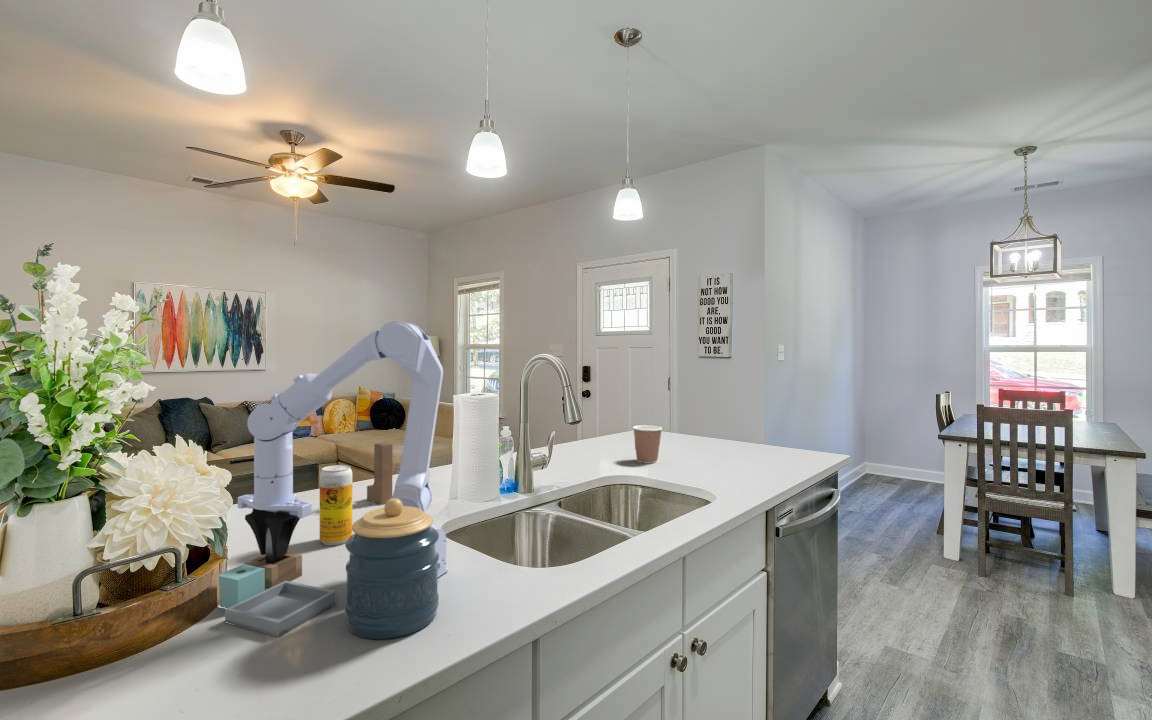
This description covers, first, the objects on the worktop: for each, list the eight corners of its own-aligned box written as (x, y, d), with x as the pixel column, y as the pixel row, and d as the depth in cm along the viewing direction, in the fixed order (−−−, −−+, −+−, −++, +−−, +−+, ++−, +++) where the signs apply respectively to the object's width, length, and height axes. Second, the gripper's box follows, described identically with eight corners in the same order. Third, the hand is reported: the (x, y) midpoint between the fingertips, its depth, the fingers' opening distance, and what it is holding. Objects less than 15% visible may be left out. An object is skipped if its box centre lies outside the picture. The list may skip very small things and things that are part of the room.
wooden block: (392, 502, 137) (393, 443, 137) (381, 504, 134) (381, 445, 134) (378, 497, 141) (378, 440, 141) (366, 500, 138) (366, 442, 138)
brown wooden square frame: (301, 575, 93) (302, 554, 93) (271, 590, 87) (271, 568, 87) (276, 570, 95) (276, 550, 95) (244, 584, 90) (244, 562, 89)
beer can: (316, 547, 106) (316, 472, 105) (322, 537, 112) (322, 465, 111) (350, 545, 107) (350, 470, 107) (354, 534, 113) (354, 463, 113)
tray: (335, 603, 83) (335, 591, 83) (278, 637, 73) (278, 622, 73) (285, 592, 87) (285, 580, 87) (225, 623, 77) (225, 609, 77)
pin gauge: (284, 566, 92) (284, 525, 91) (270, 571, 90) (270, 529, 89) (276, 563, 93) (276, 523, 93) (262, 568, 91) (262, 527, 91)
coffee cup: (646, 457, 197) (646, 424, 197) (667, 461, 189) (668, 427, 189) (626, 460, 191) (626, 426, 190) (647, 465, 183) (648, 430, 183)
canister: (331, 616, 79) (331, 497, 79) (412, 589, 88) (413, 482, 88) (368, 653, 70) (369, 518, 70) (455, 618, 79) (456, 499, 79)
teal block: (264, 600, 84) (264, 568, 84) (238, 613, 80) (237, 579, 80) (243, 595, 86) (243, 563, 86) (216, 607, 82) (216, 575, 81)
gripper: (325, 473, 92) (325, 551, 92) (263, 465, 97) (263, 540, 97) (291, 482, 85) (291, 567, 86) (225, 474, 90) (226, 554, 91)
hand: (273, 554), depth 91 cm, fingers closed on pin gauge, 2 cm apart
